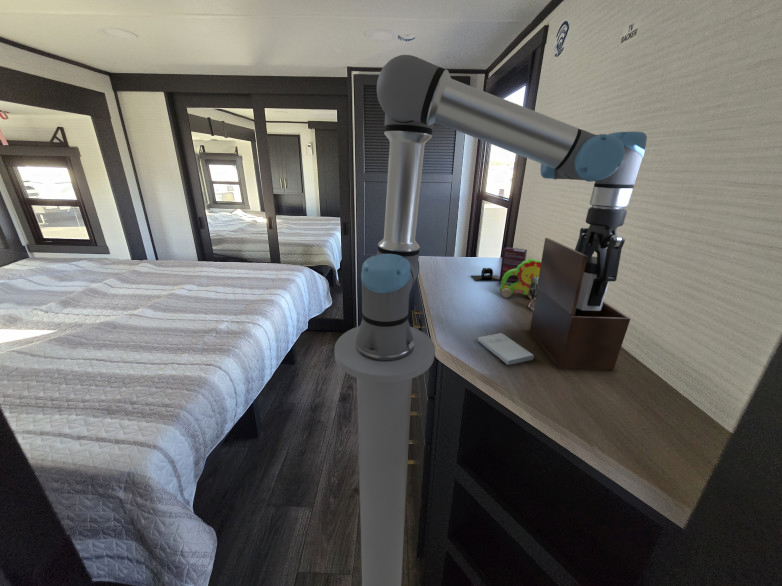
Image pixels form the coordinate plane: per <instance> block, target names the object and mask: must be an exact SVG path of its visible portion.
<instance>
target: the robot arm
mask: <svg viewBox="0 0 782 586" xmlns="http://www.w3.org/2000/svg"><path fill="white" fill-rule="evenodd" d="M376 96H377V100H378V101H377V102H378V103H379V105H380V107H381V110H382V111H383V112H384V132H383V134H384V135H385V137H386V138H387V139H388V141H389V149H388V151H389V152H388V165H387V179H386V180H387V182H386V199H385V212H384V213H385V215H384V230H383V238H382V239H380V241H379V242H378V243H377V253H376V255H372V256H370V257H368V258H366V259H365V261H364V262H363V263H362V265H361V273H360V279H361V303H362V304H361V305H362V306H361V310H362V311H361V312H362V320H361V322H360V325H359V326H360V328H359V331H358V334H357V337H356V349H357V351H358V352H359V353H360V354H361V355H362V356H364V357H366V358H368V359H371V360H375V361H395V360H399V359H402V358H405V357H407V356H408V355H409V354H411V352H412V351H413V349H414V345H415V344H414V338H413V334H412V331H411V328H410V327H411V325H410V322H409V308H410V307H409V306H410V303H409V302H410V293H411V290H412V288H413V286H414V284H415V282H416V280H417V278H418V276H419V274H420V268H421V267H420V259H419V258H420V250H421V247H420V245H419V243H418V242H417V241H416V233H417V223H418V215H419V205H420V195H421V194H420V193H421V183H422V174H423V166H424V165H423V164H424V155H425V145H426V143H427V142H428V141H430V140H431V139H432V137H433V129H434V124H435V123H436V124H439V125H441V126H444V127H447V128H449V129H451V130H454V131H457V132H459V133H461V134H464V135H467V136H470V137H472V138H475V139H477V140H480V141H483V142H485V143H488V144H490V145H492V146H495V147H498V148H500V149H502V150H504V151H505V150H506V151H508V152H511V153H513V154H516V155H518V156H519V157H523V158H526V159H528V160H531V161H534V162H536V163H539V164H540V171H539V172H540V176H541V178H543V179H547V180H549V179H550V180H551V179H552V180H555V181H556V180H572V181H573V180H576V181H585V182H589V183H591V182H594V184H593V188H592V192H591V196H590V199H589V205H590V207H589V208H587V214H586V216H585V223H586V224H588V227H581V228H580V230H579V235H578V239H577V241H576V245H575V248H574V250H576V251H578V252H580V253H582V254H584V255H587V257H592V256H593V255H594V253H596V257H597V264H598V267H597V279H594V281H593V285H592V288H591V292H590V296H589V300H588V303H587V305H588V306H600V305H601V301H602V298H603V295H604V293H605V290H606V286H607V283H608V282H609V283H610V282H616V281H617V278H618V272H619V266H620V260H621V254H622V249H623V247H624V244H625V242H626V238H625V237H619V236H618V235H617V229H618V228H619V227H622V226H623V225H624V224H625V220H626V216H627V214H628V211H627V209H626V208H628V207H629V206H630V205H629V204H630V202H631V197H632V194H633V191H634V188H635V184H636V180H637V176H638V173H639V171H640V167H641V164H642V161H643V158H644V156H645V150H646V146H647V139H648V136H647V134H646V133H645V132H643V131H617V132H610V133H607V134H605V133H603V134H602V133H600V134H595V133H592V132H590V131H587V130H585V129H581V128H578V127H577V126H574V125H571V124H569V123H566V122H564V121H561V120H559V119H556V118H553V117H551V116H548V115H546V114H543V113H540V112H538V111H535V110H534V109H530V108H528V107H525V106H523V105H520V104H517V103H514V102H513V101H510V100H508V99H504V98H502V97H499V96H497V95H494V94H492V93H489V92H487V91H484V90H481V89H479V88H476V87H473V86H471V85H469V84H466V83H464V82H460V81H458V80H456V79H453V78H452V77H451V75H450V72H449V69H446V68H443V67H441V66H438V65H436V64H434V63H431V62H429V61H427V60H425V59H423V58H420V57H418V56H415V55H410V54H400V55H397V56H394V57H392V58H391V59H390V60H388V62H387V63H386V64H385V65H384V66H383V67H382V69H381V70H380V72H379V75H378V78H377V83H376ZM602 275H603V276H602Z"/></svg>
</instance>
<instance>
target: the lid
mask: <svg viewBox="0 0 782 586" xmlns="http://www.w3.org/2000/svg"><path fill="white" fill-rule="evenodd" d="M586 261H587V255H584V254H582V253H580V252H578V251H576V250H575V249H573V248H572V247H569V246H567V245H564V244H562V243H561V242H558V241H556V240H554V239H551V238H549V237H545V238H544V242H543V248H542V254H541V260H540V262H541V266H540V272H539V278H538V284H537V287H539V288H540V289H541V290H542V291H543V292H544V293H546V294H547V295H548V296H549V297H550V298H551V299H553V300H554V301H555V302H556V303H557V304H559V305H560V306H561V307H562V308H563V309H564V310H566V311H567V312H568V313H569V314H570V315H575V311H576V306H577V302H578V297H579V293H580V288H581V284H582V279H583V275H584V270H585V265H586Z"/></svg>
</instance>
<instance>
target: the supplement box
mask: <svg viewBox="0 0 782 586" xmlns="http://www.w3.org/2000/svg"><path fill="white" fill-rule="evenodd" d="M527 252H528V249H524V248H515V247H509V246H506V247H504V248H503V251H502V258H501V265H500V273H499V278H500V279H499V281H498V287H499V286H500V287H501V282H502V278H503V276H504V274H505V273H506V272H507V271H509V270H511V269H516V268H517V266H518V265H519V264H521V263H522V262H523V261H526V259H527ZM515 282H518V276H516V275H511V276H509V277H508V279H507V282H506V285H508V286H510V285H511V284H513V283H515Z"/></svg>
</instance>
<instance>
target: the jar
mask: <svg viewBox="0 0 782 586" xmlns="http://www.w3.org/2000/svg"><path fill="white" fill-rule="evenodd" d="M597 267H598V264H597V256H593V255H592V257H587V261H586V265H585V270H584V275H583V279H582V284H581V288H580V293H579V297H578V302H577V306H576V308H577V309H580V310H583V311H601V308H602V304H603V301H604V302H605V299H606V298H605V297H606V294H607V291H608V287H609V283H610V281H609V282H608V283H607V286H606V290H605V293H604V295H603V298H602V301H601V305H600V306H588V305H587V303H588V300H589V296H590V292H591V288H592V285H593V281H594V279H597ZM602 276H603V275H602Z"/></svg>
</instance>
